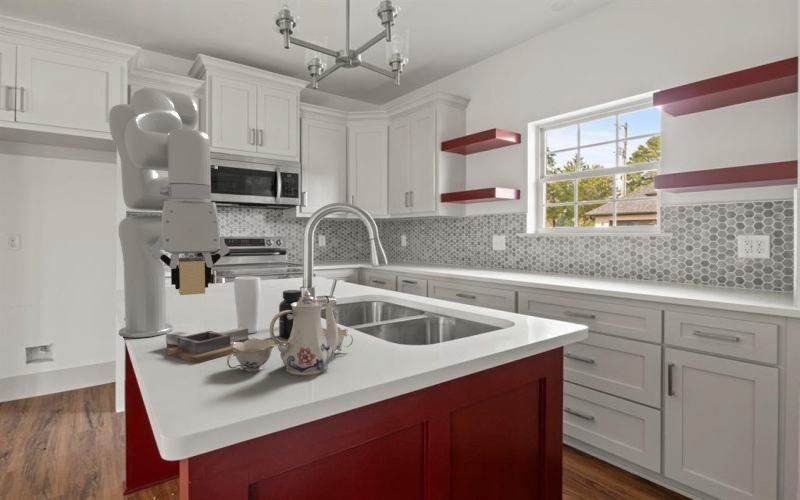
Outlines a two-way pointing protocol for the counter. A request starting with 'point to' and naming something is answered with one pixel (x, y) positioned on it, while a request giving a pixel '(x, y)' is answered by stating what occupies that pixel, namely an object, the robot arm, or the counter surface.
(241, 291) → the drinking glass
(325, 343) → the chinaware
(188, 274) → the block
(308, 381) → the counter surface
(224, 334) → the shaft rig
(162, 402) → the counter surface
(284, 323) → the supplement bottle
